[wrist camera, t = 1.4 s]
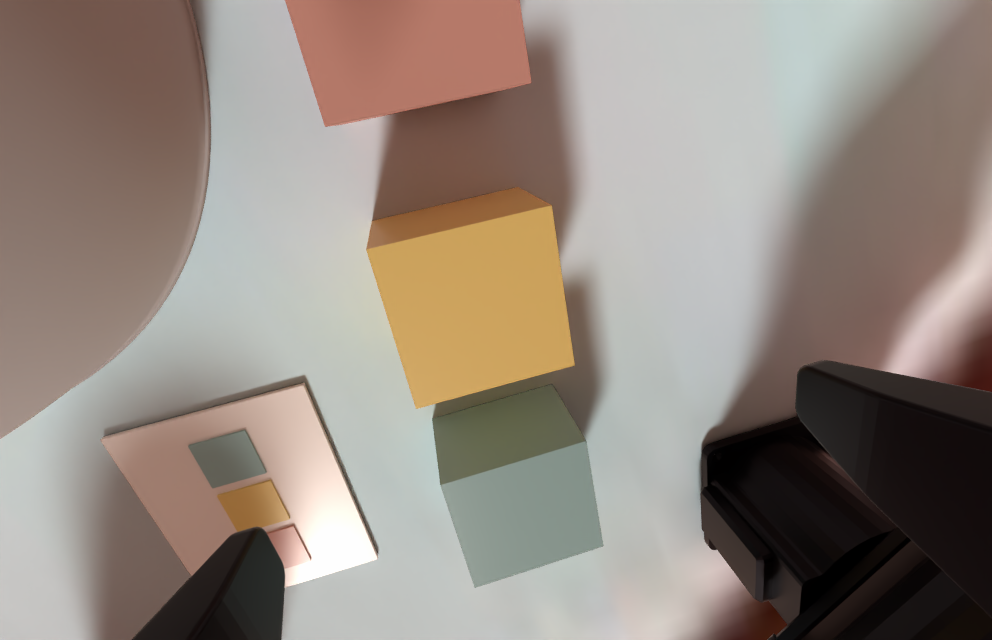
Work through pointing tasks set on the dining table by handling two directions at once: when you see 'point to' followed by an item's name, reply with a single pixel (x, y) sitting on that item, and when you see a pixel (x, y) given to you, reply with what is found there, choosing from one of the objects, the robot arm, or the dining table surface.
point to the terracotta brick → (407, 53)
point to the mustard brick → (473, 293)
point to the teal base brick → (517, 484)
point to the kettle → (93, 183)
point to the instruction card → (247, 483)
